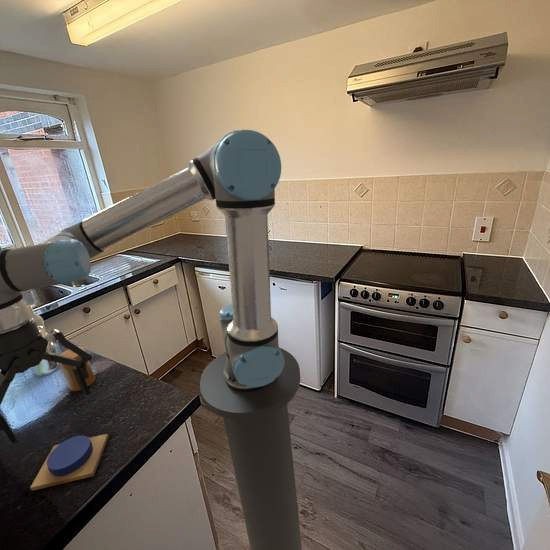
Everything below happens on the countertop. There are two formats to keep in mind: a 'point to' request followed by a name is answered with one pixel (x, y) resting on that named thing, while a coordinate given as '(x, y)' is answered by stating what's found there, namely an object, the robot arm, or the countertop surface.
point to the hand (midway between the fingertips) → (52, 414)
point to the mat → (84, 471)
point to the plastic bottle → (40, 324)
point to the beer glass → (45, 365)
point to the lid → (69, 455)
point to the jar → (70, 375)
